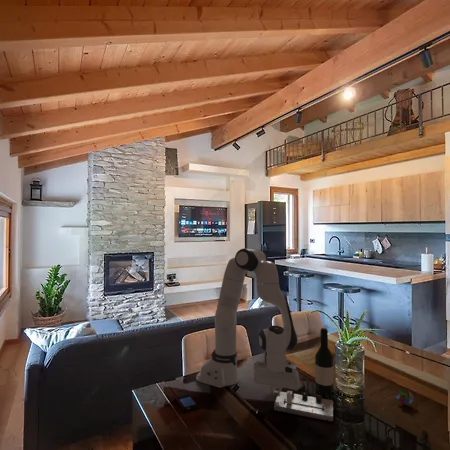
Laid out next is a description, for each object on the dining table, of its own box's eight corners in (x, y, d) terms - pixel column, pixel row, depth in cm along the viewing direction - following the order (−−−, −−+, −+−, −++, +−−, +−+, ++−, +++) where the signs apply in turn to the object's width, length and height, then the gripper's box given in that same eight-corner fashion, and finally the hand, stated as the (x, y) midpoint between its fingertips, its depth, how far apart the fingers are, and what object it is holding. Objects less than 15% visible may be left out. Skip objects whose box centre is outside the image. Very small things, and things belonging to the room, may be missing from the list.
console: (274, 410, 132) (274, 400, 132) (279, 395, 144) (279, 386, 145) (333, 421, 124) (332, 411, 124) (333, 405, 136) (332, 395, 137)
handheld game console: (200, 409, 133) (200, 392, 133) (176, 416, 128) (176, 398, 128) (190, 396, 144) (190, 380, 144) (167, 401, 139) (167, 385, 139)
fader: (286, 403, 133) (286, 393, 134) (287, 399, 136) (287, 390, 136) (291, 404, 133) (291, 394, 133) (292, 400, 136) (292, 391, 136)
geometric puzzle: (404, 407, 131) (411, 390, 133) (389, 400, 137) (396, 383, 140) (412, 414, 133) (419, 397, 136) (397, 406, 140) (404, 390, 142)
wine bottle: (334, 395, 145) (334, 331, 146) (316, 393, 146) (316, 330, 148) (332, 387, 153) (331, 326, 154) (314, 385, 154) (314, 325, 156)
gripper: (252, 363, 138) (251, 395, 137) (298, 370, 131) (298, 403, 130) (255, 358, 144) (255, 388, 143) (300, 364, 137) (300, 396, 136)
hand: (276, 395), depth 137 cm, fingers closed
